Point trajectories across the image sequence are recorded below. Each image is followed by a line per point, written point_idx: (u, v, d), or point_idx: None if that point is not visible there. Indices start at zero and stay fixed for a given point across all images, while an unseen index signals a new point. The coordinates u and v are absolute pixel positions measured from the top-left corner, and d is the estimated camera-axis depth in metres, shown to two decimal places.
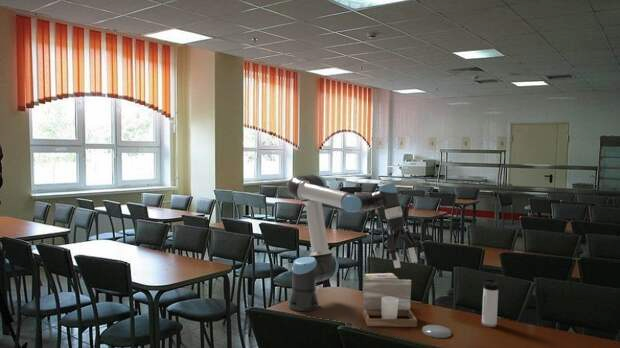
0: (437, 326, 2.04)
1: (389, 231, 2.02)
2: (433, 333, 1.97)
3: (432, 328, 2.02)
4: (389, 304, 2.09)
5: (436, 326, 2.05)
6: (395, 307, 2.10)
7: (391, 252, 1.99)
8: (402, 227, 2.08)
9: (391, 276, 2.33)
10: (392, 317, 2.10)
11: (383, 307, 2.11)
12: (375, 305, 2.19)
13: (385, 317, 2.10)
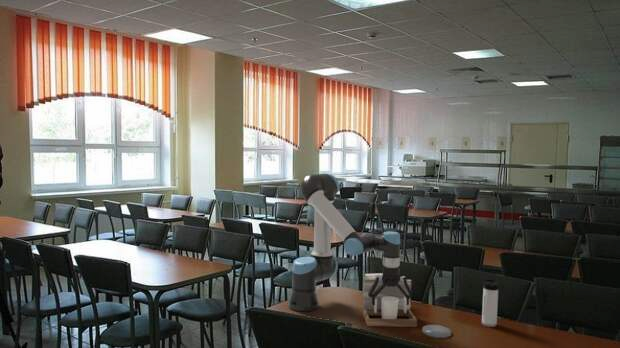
0: (437, 326, 2.04)
1: (376, 278, 2.11)
2: (433, 333, 1.97)
3: (432, 328, 2.02)
4: (389, 304, 2.09)
5: (436, 326, 2.05)
6: (395, 307, 2.10)
7: None
8: (396, 277, 2.11)
9: None
10: (392, 317, 2.10)
11: (383, 307, 2.11)
12: None
13: (385, 317, 2.10)
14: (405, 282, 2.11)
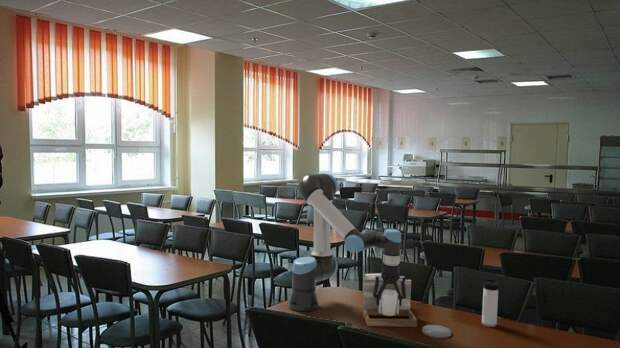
0: (437, 326, 2.04)
1: (375, 277, 2.12)
2: (433, 333, 1.97)
3: (432, 328, 2.02)
4: (388, 296, 2.09)
5: (436, 326, 2.05)
6: (394, 300, 2.10)
7: (376, 297, 2.13)
8: (396, 275, 2.11)
9: None
10: (391, 310, 2.10)
11: (382, 300, 2.11)
12: (375, 305, 2.19)
13: (384, 310, 2.11)
14: (403, 282, 2.11)
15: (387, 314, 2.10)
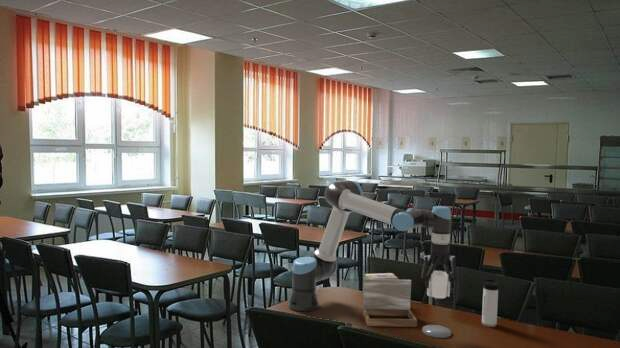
0: (437, 326, 2.04)
1: (424, 258, 1.98)
2: (433, 333, 1.97)
3: (432, 328, 2.02)
4: (439, 278, 1.95)
5: (436, 326, 2.05)
6: (445, 281, 1.96)
7: (424, 279, 1.99)
8: (446, 254, 1.98)
9: (391, 276, 2.33)
10: (442, 292, 1.96)
11: (432, 281, 1.97)
12: (375, 305, 2.19)
13: (434, 292, 1.97)
14: (454, 262, 1.98)
15: (438, 296, 1.96)
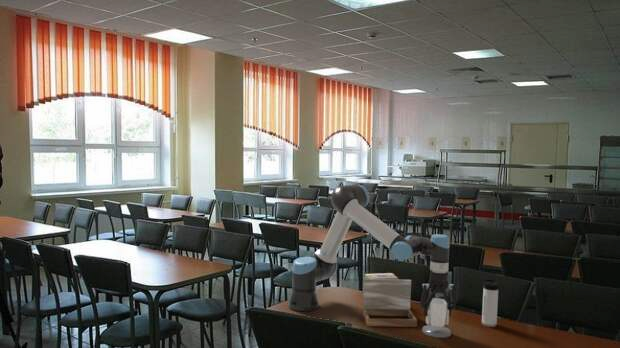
0: None
1: (423, 286, 1.99)
2: (433, 333, 1.97)
3: (432, 328, 2.02)
4: (438, 306, 1.96)
5: None
6: (444, 310, 1.97)
7: (423, 307, 2.00)
8: (445, 283, 1.98)
9: (391, 276, 2.33)
10: (441, 320, 1.97)
11: (431, 310, 1.98)
12: (375, 305, 2.19)
13: (433, 320, 1.98)
14: (452, 291, 1.98)
15: (437, 325, 1.97)
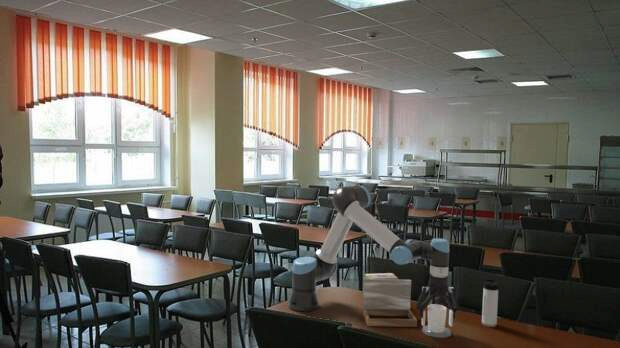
0: None
1: (422, 288, 1.99)
2: (433, 333, 1.97)
3: None
4: (437, 312, 1.96)
5: None
6: (443, 316, 1.97)
7: None
8: (444, 287, 1.98)
9: (391, 276, 2.33)
10: (440, 326, 1.97)
11: (430, 316, 1.98)
12: (375, 305, 2.19)
13: (432, 326, 1.98)
14: (453, 293, 1.99)
15: (436, 331, 1.97)
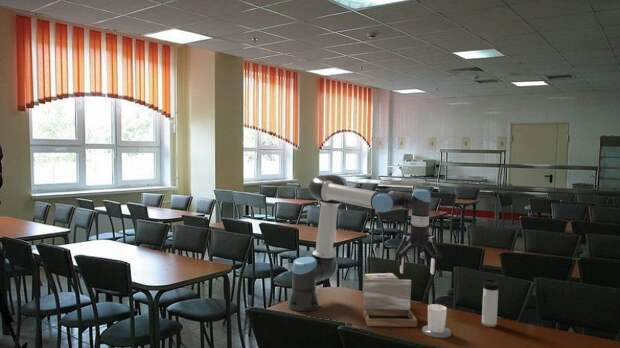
0: None
1: (403, 237, 2.02)
2: (433, 333, 1.97)
3: None
4: (437, 312, 1.96)
5: None
6: (443, 316, 1.97)
7: (397, 256, 2.03)
8: (425, 237, 2.01)
9: (391, 276, 2.33)
10: (440, 326, 1.97)
11: (430, 316, 1.98)
12: (375, 305, 2.19)
13: (433, 326, 1.98)
14: (434, 242, 2.02)
15: (436, 331, 1.97)
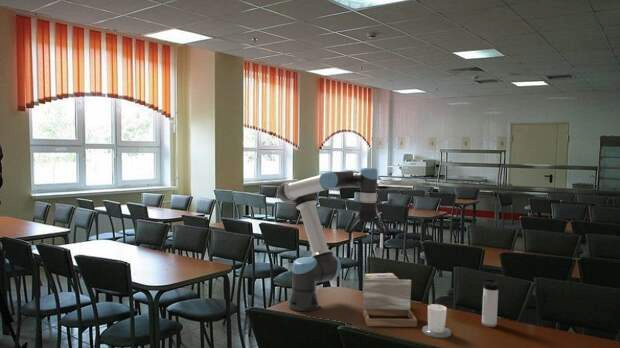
0: None
1: (352, 213, 2.12)
2: (433, 333, 1.97)
3: None
4: (437, 312, 1.96)
5: None
6: (443, 316, 1.97)
7: (348, 232, 2.13)
8: (373, 213, 2.12)
9: (391, 276, 2.33)
10: (440, 326, 1.97)
11: (430, 316, 1.98)
12: (375, 305, 2.19)
13: (433, 326, 1.98)
14: (382, 218, 2.12)
15: (436, 331, 1.97)
